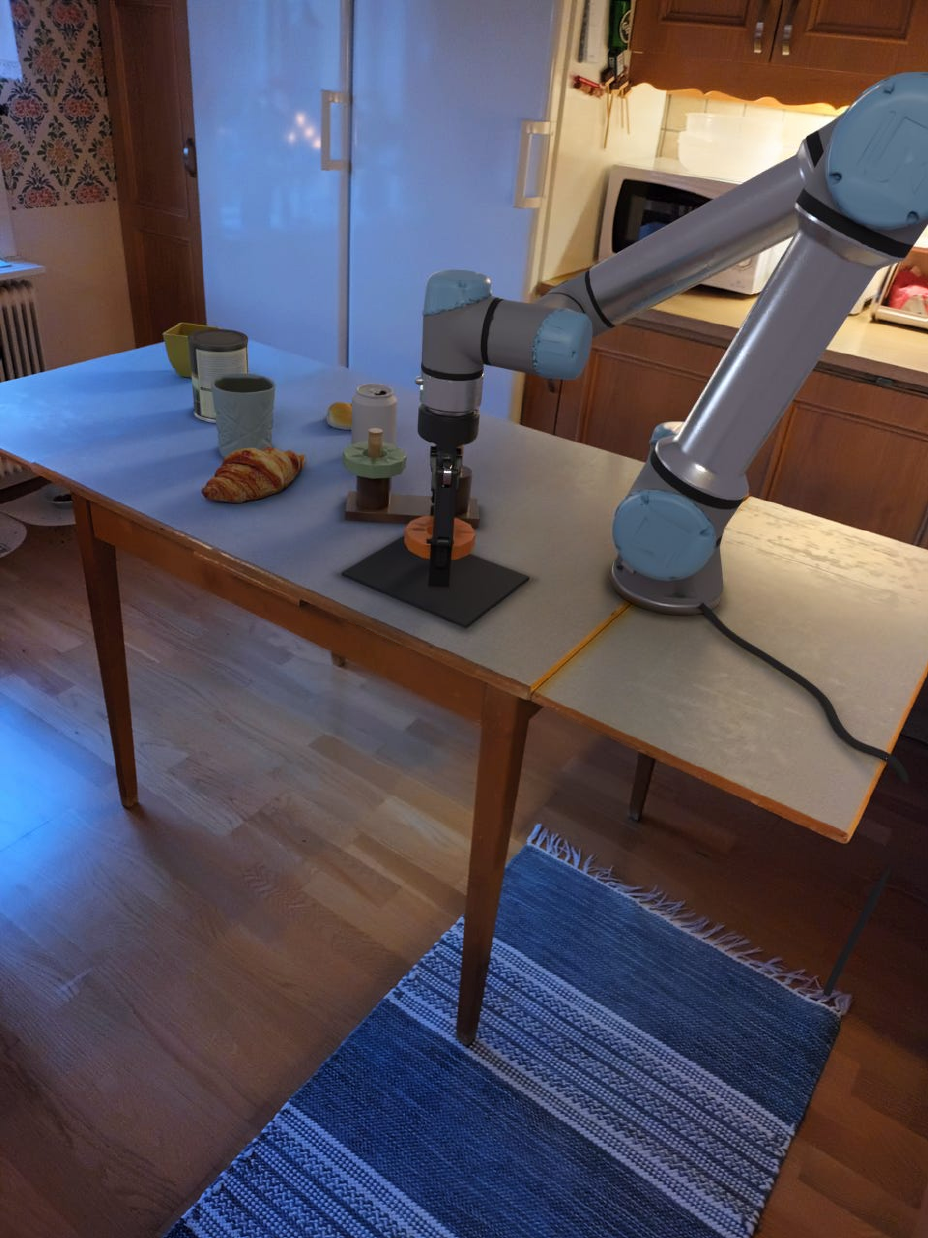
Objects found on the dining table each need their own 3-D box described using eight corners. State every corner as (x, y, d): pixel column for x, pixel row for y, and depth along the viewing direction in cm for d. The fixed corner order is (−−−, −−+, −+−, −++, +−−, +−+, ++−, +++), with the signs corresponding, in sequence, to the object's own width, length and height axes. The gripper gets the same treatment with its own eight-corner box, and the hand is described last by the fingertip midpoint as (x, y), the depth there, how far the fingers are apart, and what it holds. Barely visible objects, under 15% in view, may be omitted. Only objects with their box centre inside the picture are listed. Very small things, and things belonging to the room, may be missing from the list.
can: (388, 468, 155) (390, 398, 148) (345, 461, 156) (346, 392, 149) (399, 451, 161) (402, 384, 155) (358, 445, 162) (359, 378, 155)
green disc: (417, 468, 137) (418, 455, 136) (372, 483, 131) (372, 470, 130) (376, 449, 142) (376, 436, 141) (331, 462, 136) (331, 450, 135)
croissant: (291, 482, 155) (274, 436, 153) (332, 471, 148) (315, 423, 146) (194, 522, 139) (174, 471, 137) (236, 511, 133) (215, 458, 131)
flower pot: (165, 378, 183) (161, 332, 178) (184, 365, 190) (180, 321, 185) (207, 384, 182) (204, 338, 177) (224, 371, 189) (222, 327, 184)
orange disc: (487, 546, 123) (488, 533, 122) (439, 567, 117) (440, 553, 116) (438, 522, 128) (439, 509, 127) (391, 541, 122) (391, 528, 121)
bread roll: (380, 430, 169) (381, 409, 167) (332, 432, 166) (332, 411, 164) (369, 413, 175) (369, 393, 173) (322, 416, 172) (322, 395, 170)
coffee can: (181, 412, 168) (174, 335, 161) (225, 399, 175) (220, 325, 168) (220, 428, 163) (215, 348, 156) (263, 414, 171) (260, 338, 163)
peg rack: (476, 507, 145) (484, 428, 138) (478, 527, 139) (486, 446, 132) (348, 499, 143) (349, 419, 136) (344, 520, 137) (346, 437, 130)
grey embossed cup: (203, 455, 153) (198, 384, 146) (236, 436, 161) (233, 368, 155) (257, 468, 150) (254, 397, 144) (288, 448, 158) (286, 379, 152)
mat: (528, 579, 127) (529, 576, 126) (465, 628, 115) (466, 625, 115) (411, 534, 135) (411, 531, 135) (341, 575, 124) (341, 572, 123)
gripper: (419, 375, 121) (411, 528, 133) (417, 437, 103) (408, 608, 115) (476, 378, 122) (463, 530, 134) (484, 441, 103) (469, 611, 115)
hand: (438, 566), depth 124 cm, fingers closed on orange disc, 9 cm apart
